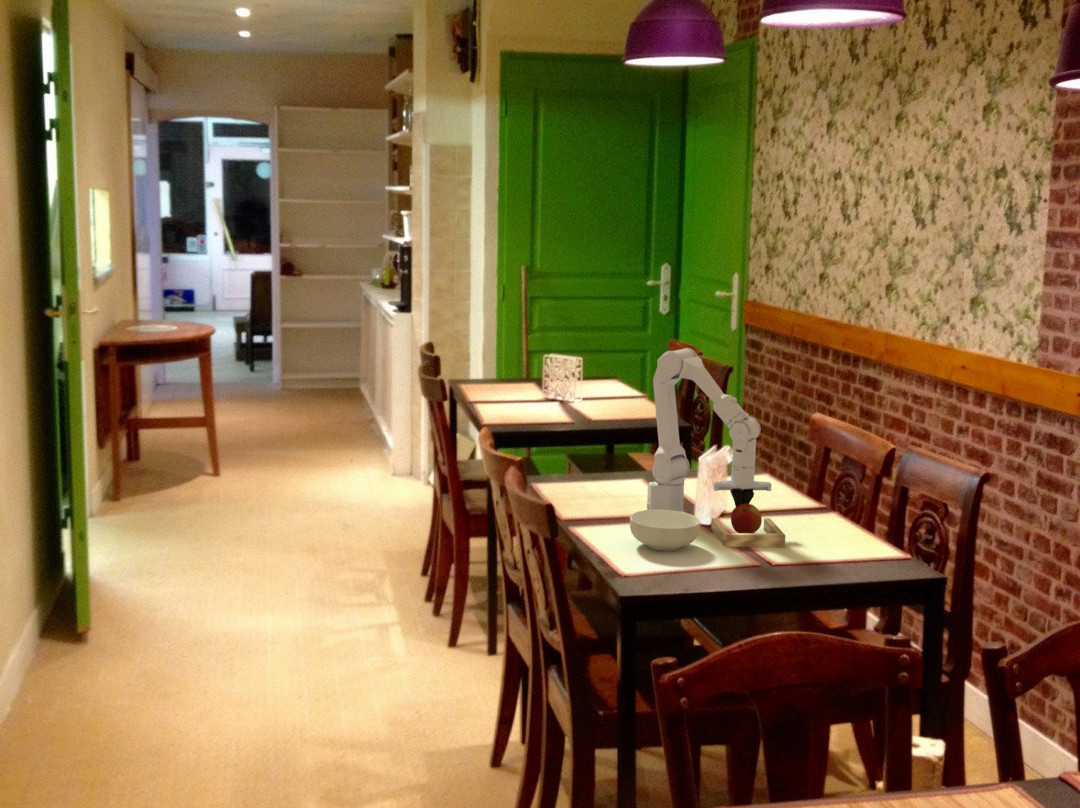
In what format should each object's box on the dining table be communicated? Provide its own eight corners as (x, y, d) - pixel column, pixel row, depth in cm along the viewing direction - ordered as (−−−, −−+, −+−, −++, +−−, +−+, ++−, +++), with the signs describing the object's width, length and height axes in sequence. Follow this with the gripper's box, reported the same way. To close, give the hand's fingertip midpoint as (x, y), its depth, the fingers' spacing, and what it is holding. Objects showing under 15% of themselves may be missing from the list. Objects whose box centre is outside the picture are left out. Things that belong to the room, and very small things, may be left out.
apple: (723, 532, 320) (725, 501, 319) (751, 529, 323) (753, 499, 322) (738, 540, 313) (740, 508, 312) (767, 537, 316) (769, 506, 315)
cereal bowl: (642, 558, 297) (643, 529, 296) (619, 538, 313) (620, 510, 311) (710, 554, 301) (711, 525, 300) (683, 535, 317) (685, 507, 316)
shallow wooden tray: (723, 546, 307) (724, 534, 307) (711, 529, 323) (711, 517, 322) (784, 547, 308) (785, 535, 308) (769, 529, 324) (770, 518, 323)
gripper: (718, 469, 316) (715, 521, 319) (775, 469, 317) (772, 522, 320) (712, 462, 323) (710, 514, 326) (768, 463, 324) (765, 514, 327)
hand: (740, 517), depth 323 cm, fingers closed, pressing on apple
